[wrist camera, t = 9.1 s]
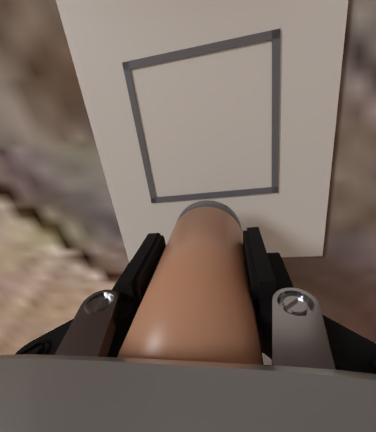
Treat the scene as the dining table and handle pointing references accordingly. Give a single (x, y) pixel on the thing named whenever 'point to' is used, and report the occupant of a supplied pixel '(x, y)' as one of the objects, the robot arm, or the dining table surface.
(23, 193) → the dining table surface
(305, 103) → the paper sheet
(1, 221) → the dining table surface
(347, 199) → the dining table surface
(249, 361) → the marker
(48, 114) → the dining table surface
